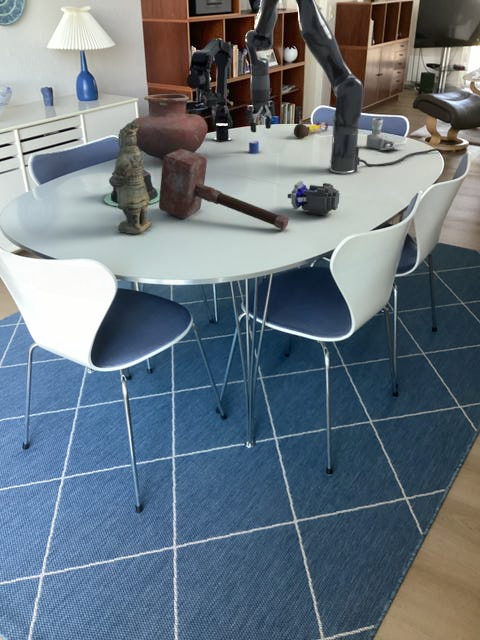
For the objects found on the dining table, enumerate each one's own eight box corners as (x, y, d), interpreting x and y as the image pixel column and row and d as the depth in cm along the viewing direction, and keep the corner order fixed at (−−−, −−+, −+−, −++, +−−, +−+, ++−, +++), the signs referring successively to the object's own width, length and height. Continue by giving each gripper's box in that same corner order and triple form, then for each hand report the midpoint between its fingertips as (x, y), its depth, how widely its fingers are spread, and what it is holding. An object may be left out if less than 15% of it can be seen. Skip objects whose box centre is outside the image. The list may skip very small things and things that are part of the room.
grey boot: (376, 116, 238) (408, 121, 230) (373, 144, 244) (404, 150, 236) (365, 119, 233) (397, 124, 224) (362, 148, 239) (393, 154, 230)
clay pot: (215, 151, 239) (212, 89, 226) (198, 171, 213) (194, 102, 201) (147, 150, 244) (141, 89, 231) (123, 168, 218) (114, 101, 206)
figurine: (335, 120, 268) (311, 122, 249) (333, 136, 271) (309, 140, 252) (311, 118, 275) (286, 120, 256) (309, 134, 278) (284, 137, 259)
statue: (131, 220, 168) (117, 116, 152) (158, 224, 164) (147, 118, 149) (109, 233, 159) (93, 124, 144) (138, 237, 156) (124, 126, 140)
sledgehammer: (299, 190, 156) (179, 147, 167) (285, 200, 148) (161, 154, 160) (286, 244, 166) (174, 200, 177) (272, 256, 158) (156, 209, 170)
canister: (248, 151, 239) (248, 141, 237) (257, 150, 240) (257, 140, 237) (250, 153, 236) (250, 143, 233) (259, 153, 236) (259, 142, 234)
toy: (295, 178, 172) (342, 184, 166) (295, 205, 177) (340, 211, 171) (285, 186, 166) (333, 192, 160) (284, 213, 170) (331, 220, 164)
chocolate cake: (91, 202, 180) (113, 186, 197) (142, 231, 182) (160, 212, 199) (107, 162, 172) (129, 148, 190) (160, 192, 174) (177, 176, 192)
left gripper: (191, 89, 219) (193, 130, 227) (232, 85, 227) (233, 125, 234) (179, 86, 227) (182, 126, 235) (219, 82, 235) (221, 121, 243)
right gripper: (265, 84, 224) (266, 126, 232) (240, 89, 216) (242, 132, 224) (279, 85, 219) (279, 128, 228) (254, 90, 211) (255, 134, 219)
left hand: (205, 124), depth 237 cm, fingers open, 9 cm apart
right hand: (260, 130), depth 226 cm, fingers open, 8 cm apart
